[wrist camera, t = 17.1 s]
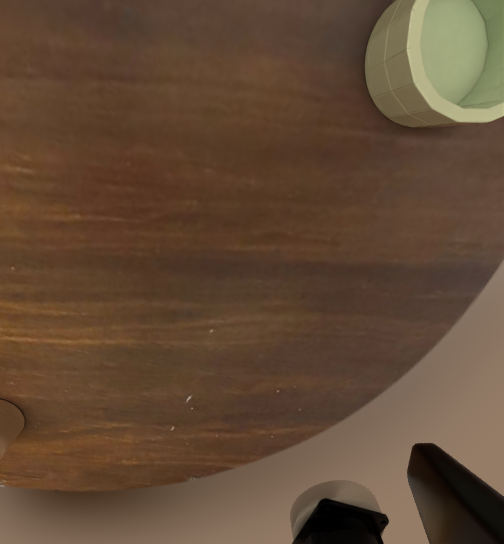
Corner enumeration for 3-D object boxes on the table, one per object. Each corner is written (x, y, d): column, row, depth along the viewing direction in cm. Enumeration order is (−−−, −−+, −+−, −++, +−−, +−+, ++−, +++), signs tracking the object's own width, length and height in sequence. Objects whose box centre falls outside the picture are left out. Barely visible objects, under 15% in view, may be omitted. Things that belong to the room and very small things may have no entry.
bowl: (515, 20, 16) (615, -25, 12) (444, 147, 18) (508, 147, 14) (406, -45, 15) (472, -119, 11) (342, 96, 17) (377, 81, 13)
